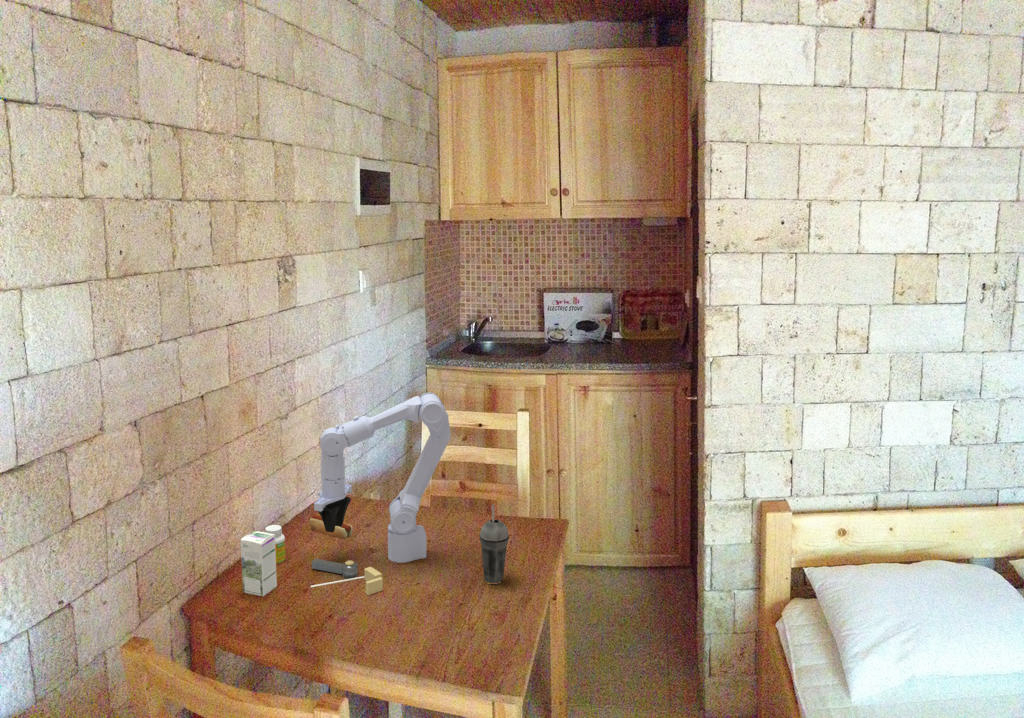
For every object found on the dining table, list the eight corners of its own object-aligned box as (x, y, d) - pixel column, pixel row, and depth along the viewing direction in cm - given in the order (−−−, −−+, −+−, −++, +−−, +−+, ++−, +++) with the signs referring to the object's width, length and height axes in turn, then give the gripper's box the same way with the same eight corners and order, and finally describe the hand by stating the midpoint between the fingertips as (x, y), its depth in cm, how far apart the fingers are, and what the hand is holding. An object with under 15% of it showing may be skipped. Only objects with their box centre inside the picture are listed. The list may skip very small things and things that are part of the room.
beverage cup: (513, 577, 205) (515, 501, 201) (500, 589, 199) (502, 510, 195) (486, 571, 208) (488, 495, 204) (473, 583, 202) (474, 505, 198)
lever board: (368, 567, 209) (367, 550, 208) (390, 599, 193) (390, 581, 192) (304, 578, 202) (303, 560, 201) (321, 613, 186) (321, 594, 185)
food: (305, 532, 230) (305, 515, 229) (320, 526, 234) (319, 509, 233) (342, 545, 222) (342, 527, 221) (356, 538, 227) (356, 521, 226)
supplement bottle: (279, 569, 207) (278, 533, 205) (259, 567, 208) (258, 530, 206) (289, 560, 212) (288, 524, 210) (269, 558, 213) (268, 522, 211)
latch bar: (360, 573, 203) (359, 563, 202) (352, 579, 200) (352, 569, 199) (317, 565, 207) (317, 555, 206) (309, 571, 203) (309, 561, 203)
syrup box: (278, 590, 196) (276, 532, 193) (262, 602, 190) (260, 542, 187) (257, 586, 197) (255, 529, 195) (241, 597, 192) (239, 538, 189)
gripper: (334, 466, 213) (335, 516, 216) (302, 483, 199) (303, 536, 202) (358, 469, 211) (359, 520, 213) (328, 487, 197) (329, 541, 200)
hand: (334, 528), depth 208 cm, fingers open, 3 cm apart
